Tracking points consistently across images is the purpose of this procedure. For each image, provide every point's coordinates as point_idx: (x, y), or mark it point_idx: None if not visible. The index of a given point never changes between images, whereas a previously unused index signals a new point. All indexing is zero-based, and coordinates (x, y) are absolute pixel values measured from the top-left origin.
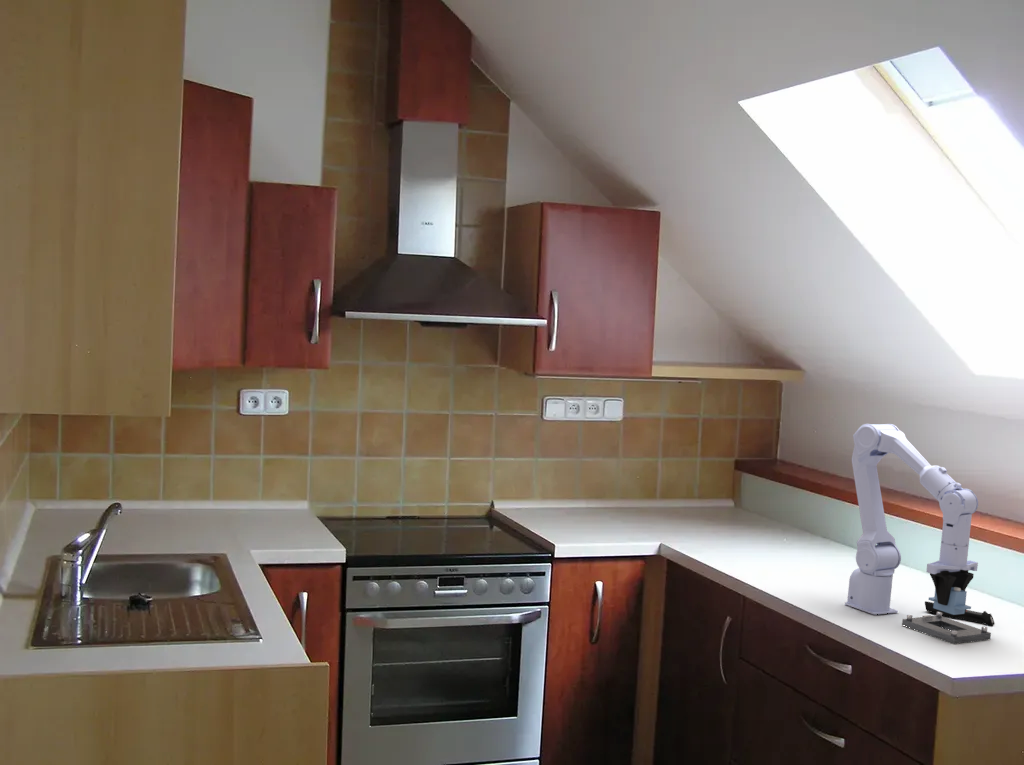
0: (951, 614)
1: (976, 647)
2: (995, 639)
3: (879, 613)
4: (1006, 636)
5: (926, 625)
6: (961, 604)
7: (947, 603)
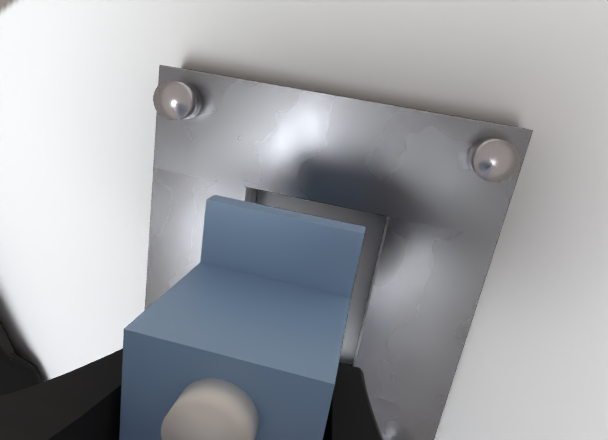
0: (26, 382)
1: (444, 8)
2: (144, 54)
3: None
4: (26, 57)
5: (418, 360)
6: (252, 278)
7: (340, 370)
